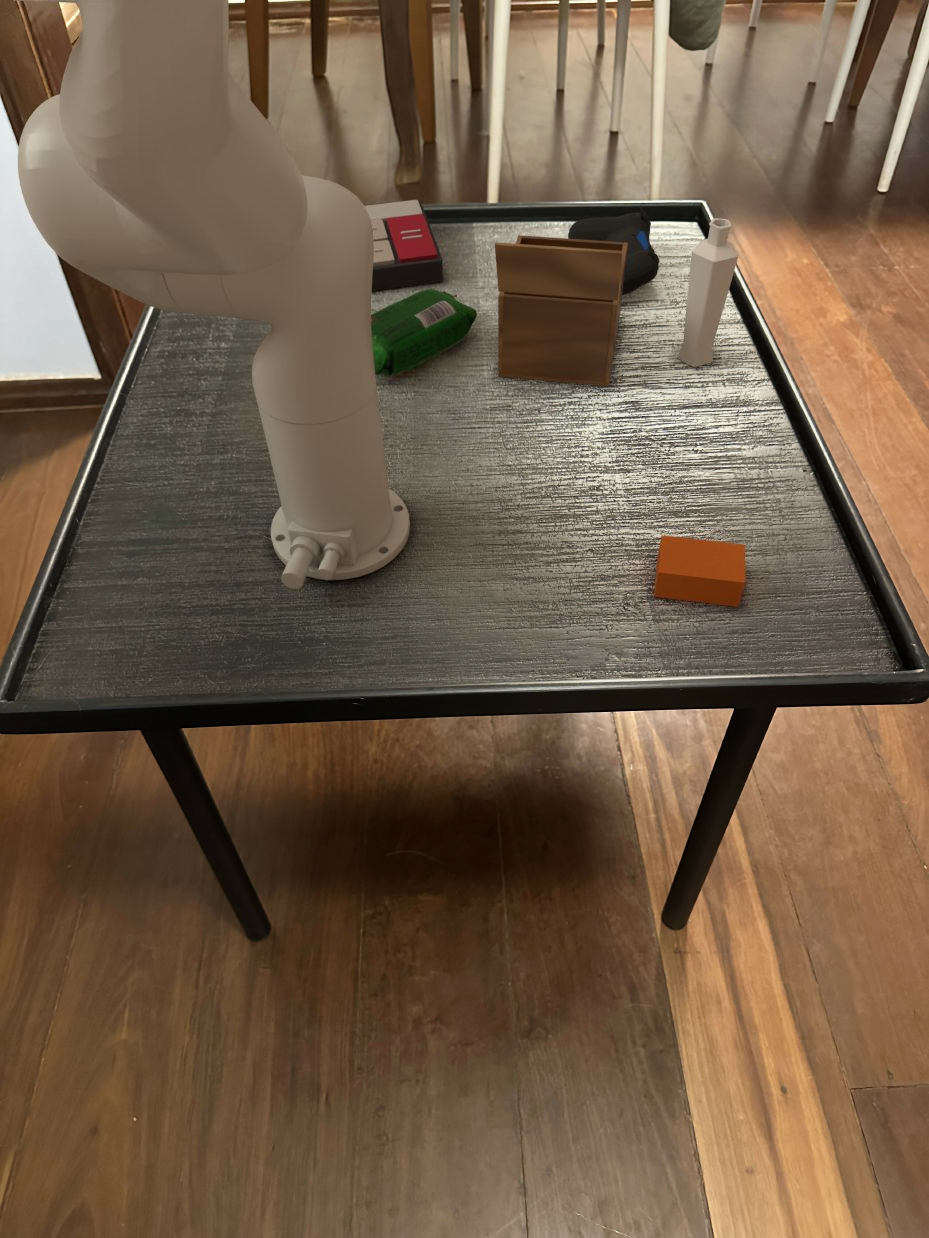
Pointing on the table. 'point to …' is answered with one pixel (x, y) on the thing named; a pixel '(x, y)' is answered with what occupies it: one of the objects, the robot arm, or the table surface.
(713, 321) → the perfume bottle
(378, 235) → the calculator
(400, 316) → the snack package
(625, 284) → the gaming controller
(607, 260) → the flap
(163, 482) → the table surface
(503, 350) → the open wooden box
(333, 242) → the robot arm
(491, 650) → the table surface
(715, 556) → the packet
